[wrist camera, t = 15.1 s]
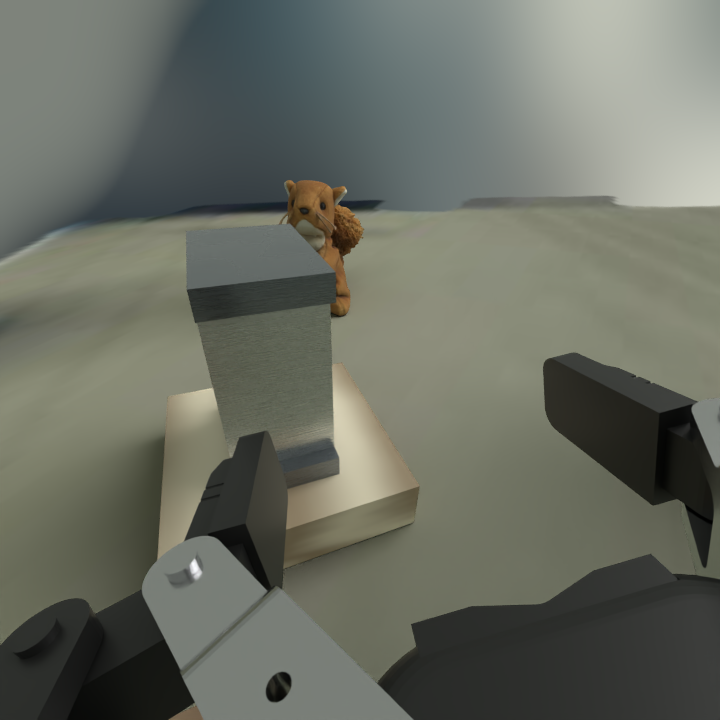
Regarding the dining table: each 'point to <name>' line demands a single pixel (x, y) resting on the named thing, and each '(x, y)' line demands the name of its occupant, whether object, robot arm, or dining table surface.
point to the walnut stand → (189, 715)
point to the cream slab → (305, 502)
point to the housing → (268, 340)
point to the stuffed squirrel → (325, 229)
